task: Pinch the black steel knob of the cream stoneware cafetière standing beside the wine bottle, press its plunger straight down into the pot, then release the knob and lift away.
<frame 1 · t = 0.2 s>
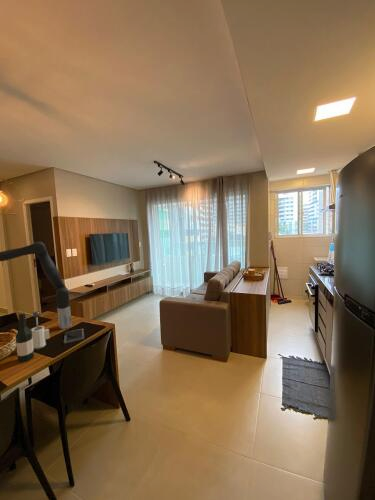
picture frame: (74, 337, 163), on the table
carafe: (39, 346, 150), on the table
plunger: (37, 321, 149), point 18 cm above the table, slide at 0.0 cm
wine bottle: (26, 358, 136), on the table
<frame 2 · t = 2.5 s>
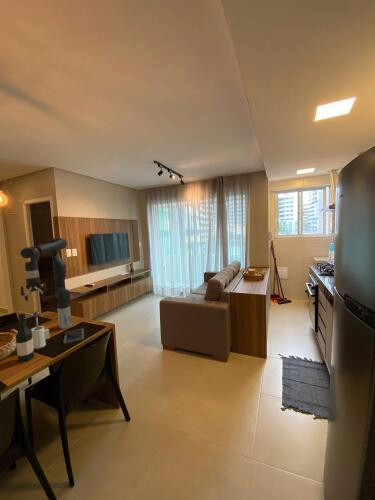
hand: (34, 299, 147), 34 cm above the table, fingers open, 8 cm apart
nothing on the table moved.
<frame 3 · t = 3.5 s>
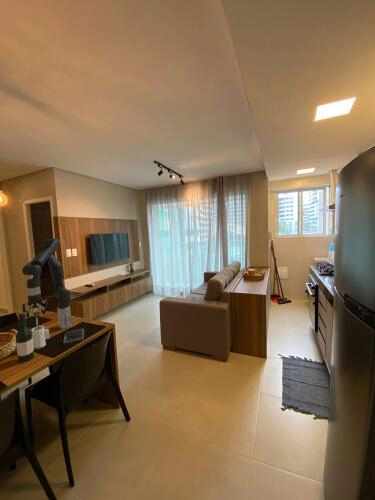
hand: (36, 316, 148), 22 cm above the table, fingers open, 8 cm apart
nothing on the table moved.
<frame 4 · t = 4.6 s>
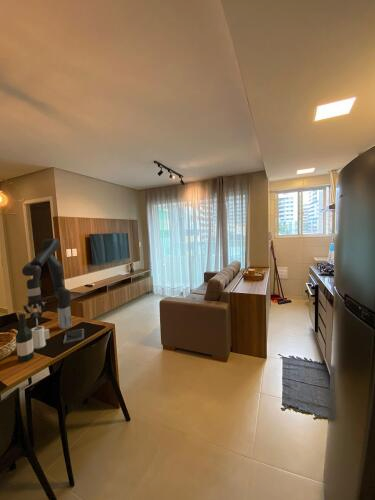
hand: (36, 317, 148), 21 cm above the table, fingers closed on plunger, 3 cm apart
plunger: (37, 321, 149), point 18 cm above the table, slide at 0.0 cm, touching gripper
everything else where it was.
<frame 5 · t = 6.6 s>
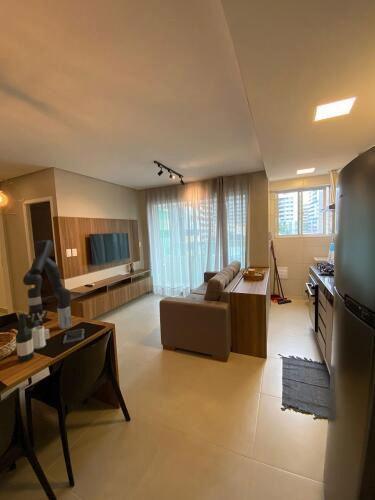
hand: (37, 326, 149), 14 cm above the table, fingers closed on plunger, 3 cm apart
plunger: (37, 330, 149), point 12 cm above the table, slide at 6.4 cm, touching gripper
everything else where it was.
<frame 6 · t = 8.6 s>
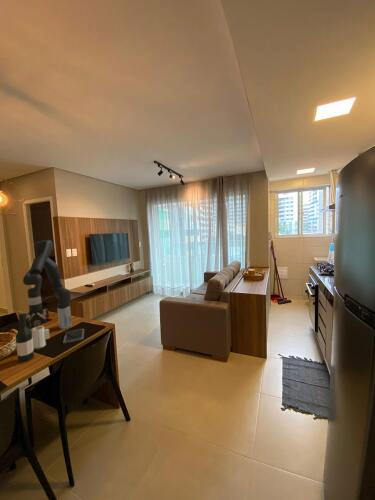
hand: (37, 325, 149), 15 cm above the table, fingers open, 8 cm apart
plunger: (37, 330, 149), point 12 cm above the table, slide at 6.5 cm
everything else where it was.
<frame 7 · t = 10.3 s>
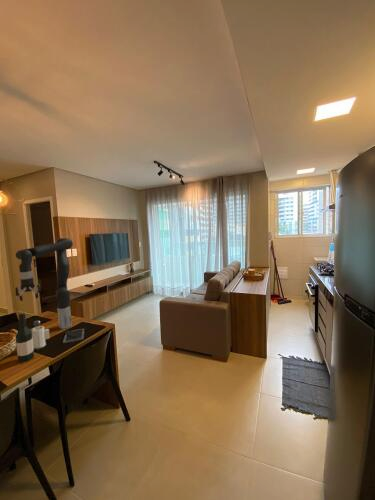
hand: (29, 299, 154), 32 cm above the table, fingers open, 8 cm apart
nothing on the table moved.
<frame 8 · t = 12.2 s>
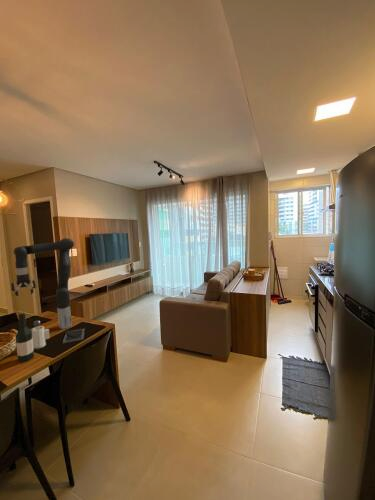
hand: (24, 294, 159), 34 cm above the table, fingers open, 8 cm apart
nothing on the table moved.
at the end: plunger slide at 6.5 cm; the gripper is holding nothing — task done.
